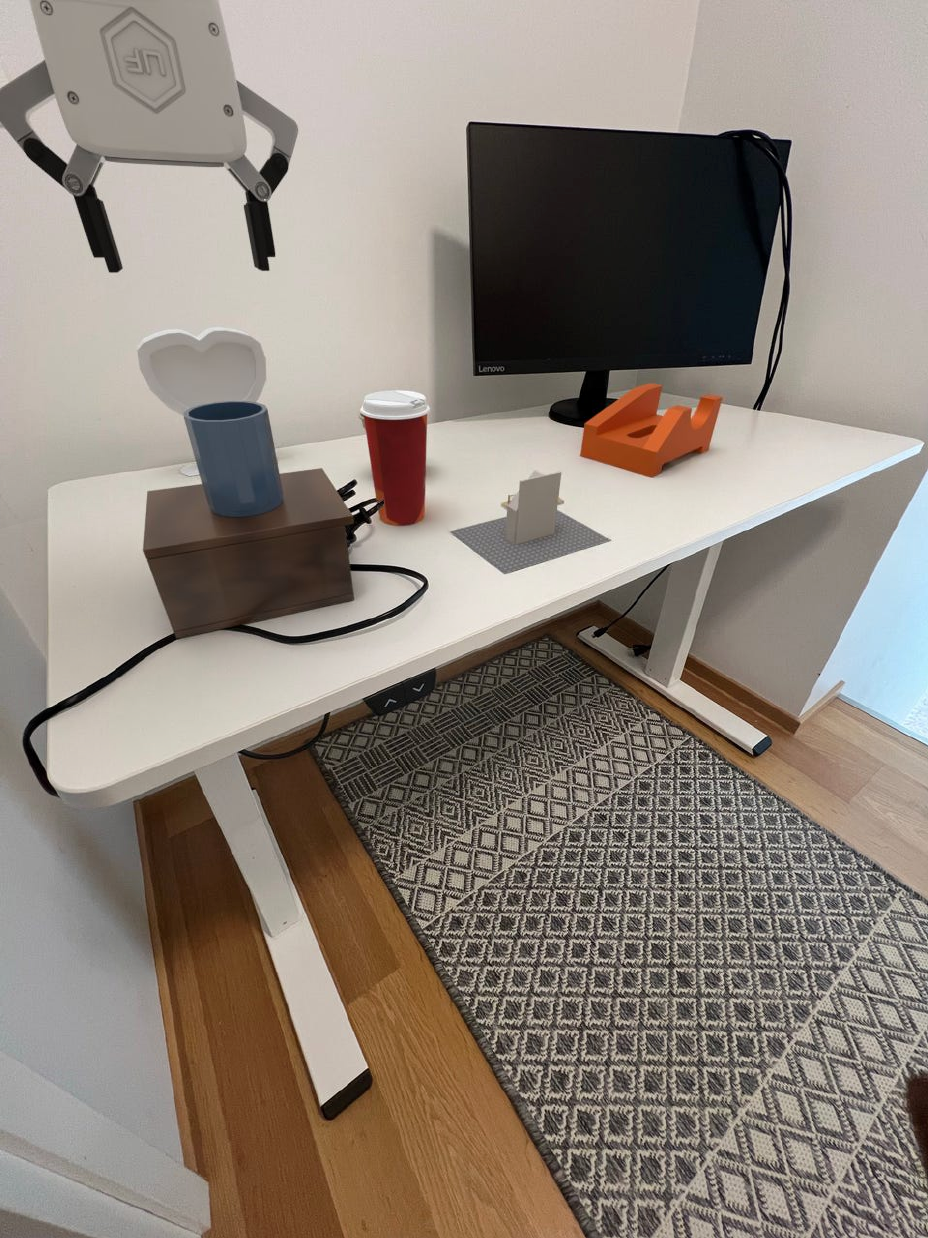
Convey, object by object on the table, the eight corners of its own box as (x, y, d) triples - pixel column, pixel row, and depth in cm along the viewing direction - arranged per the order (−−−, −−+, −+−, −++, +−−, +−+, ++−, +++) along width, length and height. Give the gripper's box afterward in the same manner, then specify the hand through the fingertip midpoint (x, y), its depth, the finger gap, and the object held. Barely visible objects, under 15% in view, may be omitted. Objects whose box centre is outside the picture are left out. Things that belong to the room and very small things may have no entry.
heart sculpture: (173, 478, 76) (129, 335, 66) (171, 467, 80) (129, 330, 70) (285, 462, 82) (261, 328, 72) (278, 452, 86) (254, 323, 76)
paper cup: (444, 512, 68) (443, 394, 60) (407, 535, 63) (400, 410, 55) (395, 498, 72) (388, 385, 63) (356, 519, 66) (342, 399, 58)
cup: (211, 522, 46) (184, 425, 41) (207, 494, 50) (182, 404, 46) (289, 510, 48) (271, 416, 43) (278, 484, 52) (261, 398, 48)
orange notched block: (640, 432, 96) (650, 382, 92) (708, 450, 89) (722, 396, 84) (580, 455, 86) (587, 400, 81) (651, 477, 79) (664, 418, 74)
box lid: (323, 475, 57) (322, 467, 56) (353, 523, 48) (352, 515, 47) (149, 498, 51) (147, 490, 51) (146, 559, 42) (142, 550, 42)
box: (325, 543, 61) (315, 476, 57) (354, 600, 52) (344, 525, 47) (174, 570, 56) (149, 499, 51) (176, 639, 47) (146, 559, 42)
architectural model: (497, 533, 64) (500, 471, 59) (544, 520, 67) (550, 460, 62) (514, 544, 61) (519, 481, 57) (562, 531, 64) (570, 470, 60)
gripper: (-137, -200, 23) (41, 275, 33) (280, -109, 29) (324, 272, 39) (-78, -117, 29) (59, 269, 39) (261, -54, 34) (304, 266, 44)
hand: (192, 270), depth 39 cm, fingers open, 9 cm apart
